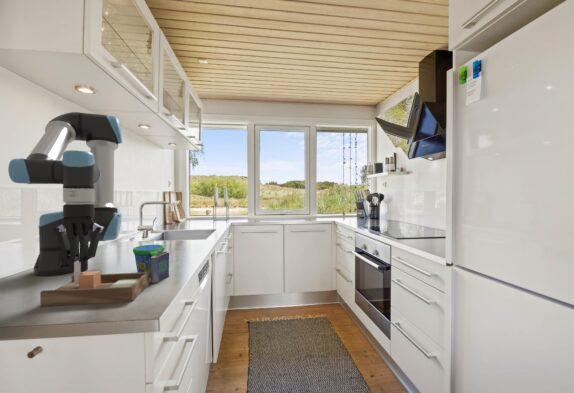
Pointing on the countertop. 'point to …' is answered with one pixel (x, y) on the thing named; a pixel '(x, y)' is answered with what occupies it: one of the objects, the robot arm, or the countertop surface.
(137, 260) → the snack cup
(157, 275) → the purple carton
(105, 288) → the wooden tray
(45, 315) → the countertop surface
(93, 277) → the block
